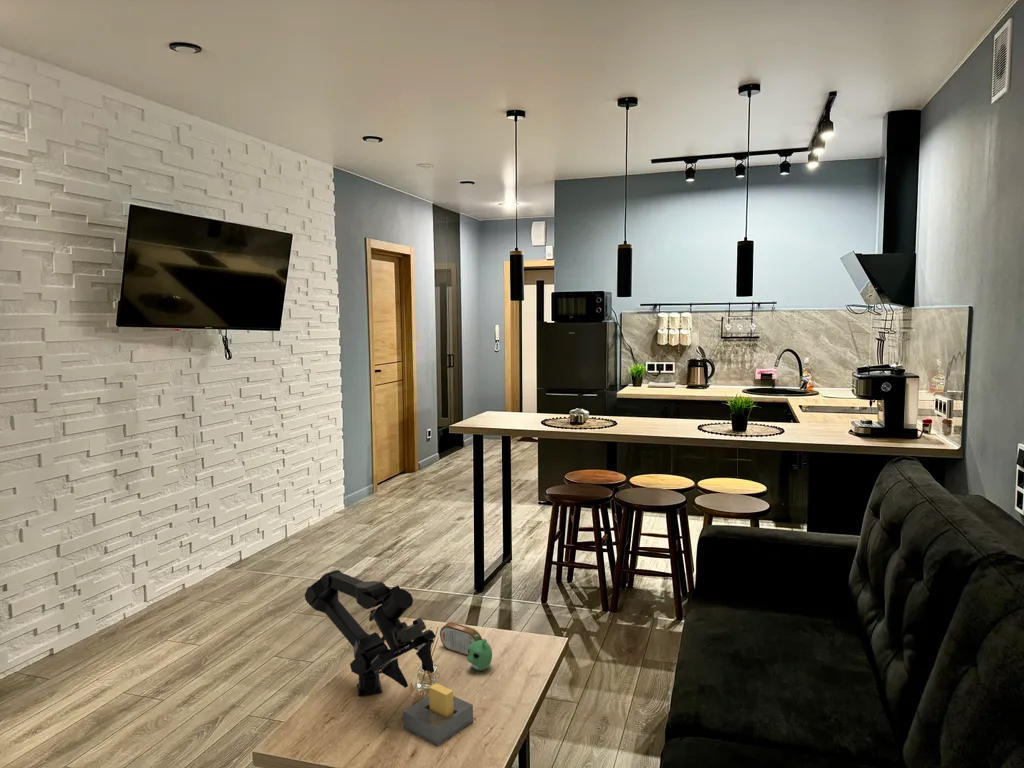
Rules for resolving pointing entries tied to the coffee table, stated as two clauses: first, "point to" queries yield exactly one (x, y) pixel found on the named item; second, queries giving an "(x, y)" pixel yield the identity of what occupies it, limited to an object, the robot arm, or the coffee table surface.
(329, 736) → the coffee table surface
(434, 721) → the box
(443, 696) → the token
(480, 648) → the alien toy
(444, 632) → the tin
